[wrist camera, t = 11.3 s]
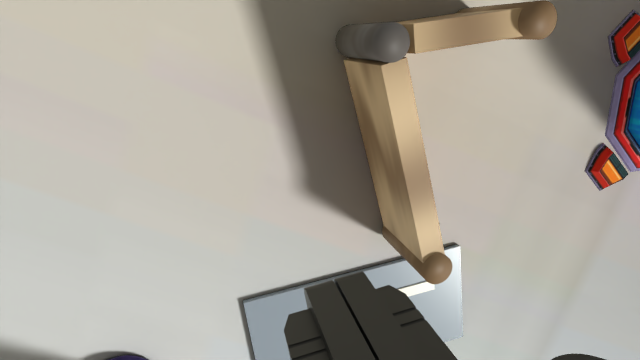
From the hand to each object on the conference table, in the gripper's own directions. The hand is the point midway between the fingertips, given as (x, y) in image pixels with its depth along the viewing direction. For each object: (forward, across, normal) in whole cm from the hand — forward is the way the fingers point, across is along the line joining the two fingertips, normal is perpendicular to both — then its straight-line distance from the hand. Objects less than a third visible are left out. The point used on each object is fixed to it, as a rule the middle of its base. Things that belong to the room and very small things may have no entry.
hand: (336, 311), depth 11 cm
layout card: (+15, -4, +12) cm, 19 cm away
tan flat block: (+15, -10, -5) cm, 18 cm away
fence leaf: (+14, -6, 0) cm, 16 cm away
